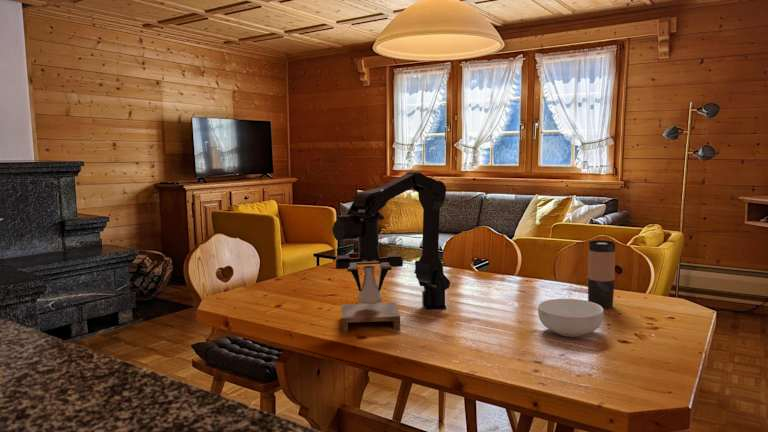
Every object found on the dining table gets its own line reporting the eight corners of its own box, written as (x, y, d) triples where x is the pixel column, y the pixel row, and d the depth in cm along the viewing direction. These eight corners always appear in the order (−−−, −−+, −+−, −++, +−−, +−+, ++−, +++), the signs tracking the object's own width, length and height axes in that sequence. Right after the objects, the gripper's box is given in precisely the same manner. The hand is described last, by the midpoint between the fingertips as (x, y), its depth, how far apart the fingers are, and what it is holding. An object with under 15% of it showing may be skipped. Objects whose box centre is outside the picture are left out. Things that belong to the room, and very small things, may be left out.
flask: (374, 306, 158) (373, 270, 157) (352, 302, 161) (351, 268, 160) (387, 299, 164) (386, 265, 163) (365, 296, 168) (365, 263, 166)
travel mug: (617, 305, 178) (619, 241, 175) (607, 310, 172) (609, 245, 170) (593, 301, 183) (595, 239, 180) (583, 306, 177) (584, 242, 175)
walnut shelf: (395, 315, 171) (395, 302, 171) (400, 330, 157) (400, 316, 157) (342, 317, 170) (341, 304, 169) (342, 332, 156) (341, 318, 156)
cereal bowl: (531, 322, 162) (531, 298, 161) (590, 322, 162) (591, 297, 161) (546, 343, 145) (546, 316, 144) (612, 342, 145) (613, 315, 144)
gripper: (398, 231, 169) (399, 282, 171) (335, 233, 168) (337, 285, 170) (402, 237, 158) (403, 292, 160) (334, 239, 157) (336, 295, 159)
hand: (369, 290), depth 162 cm, fingers closed on flask, 5 cm apart
